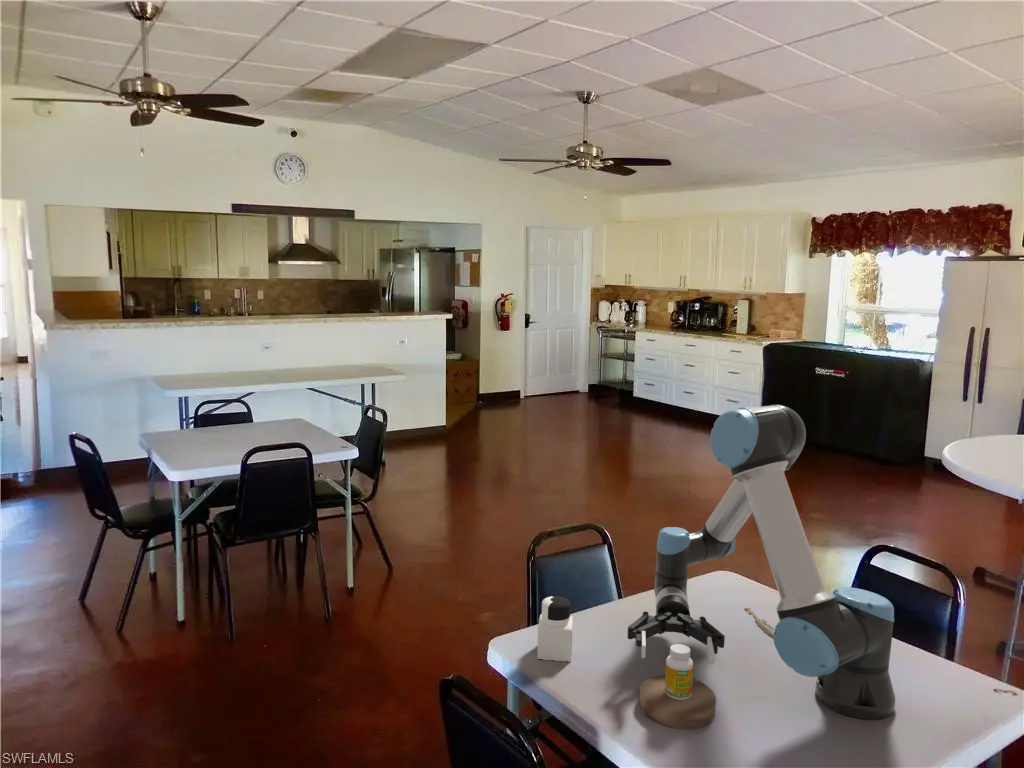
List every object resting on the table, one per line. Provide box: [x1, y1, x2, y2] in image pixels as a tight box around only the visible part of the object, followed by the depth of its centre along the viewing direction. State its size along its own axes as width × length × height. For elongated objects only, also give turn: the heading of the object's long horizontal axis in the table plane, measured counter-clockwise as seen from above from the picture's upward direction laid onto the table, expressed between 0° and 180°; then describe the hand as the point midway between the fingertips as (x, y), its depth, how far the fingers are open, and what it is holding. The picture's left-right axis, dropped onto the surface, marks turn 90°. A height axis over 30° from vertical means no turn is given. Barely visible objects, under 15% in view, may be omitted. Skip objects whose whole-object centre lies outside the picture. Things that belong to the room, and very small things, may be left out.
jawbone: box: [744, 607, 775, 639], centre depth 192 cm, size 9×20×2 cm, turn 35°
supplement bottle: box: [664, 643, 694, 700], centre depth 155 cm, size 5×5×10 cm
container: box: [536, 595, 574, 663], centre depth 176 cm, size 8×8×13 cm
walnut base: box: [639, 674, 717, 730], centre depth 156 cm, size 15×15×3 cm
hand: (677, 655), depth 156 cm, fingers open, 13 cm apart
